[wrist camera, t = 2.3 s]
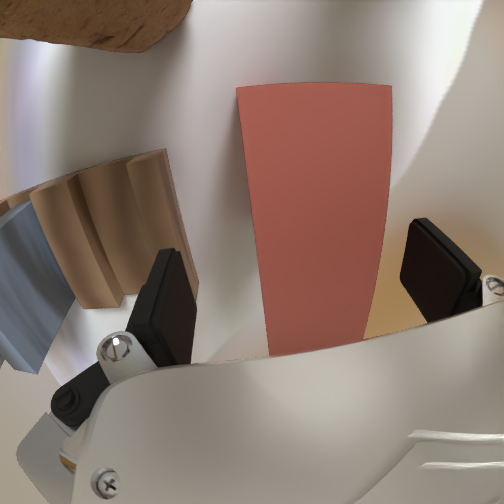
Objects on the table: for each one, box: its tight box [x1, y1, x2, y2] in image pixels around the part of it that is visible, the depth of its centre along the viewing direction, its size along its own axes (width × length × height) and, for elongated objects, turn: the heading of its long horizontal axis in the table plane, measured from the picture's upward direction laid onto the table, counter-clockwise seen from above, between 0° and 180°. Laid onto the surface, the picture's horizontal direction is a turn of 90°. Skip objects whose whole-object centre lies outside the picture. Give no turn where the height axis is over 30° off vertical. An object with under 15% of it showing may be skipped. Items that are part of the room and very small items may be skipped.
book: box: [236, 82, 392, 356], centre depth 16 cm, size 4×12×16 cm, turn 7°
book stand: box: [0, 149, 199, 374], centre depth 19 cm, size 23×14×16 cm, turn 96°
